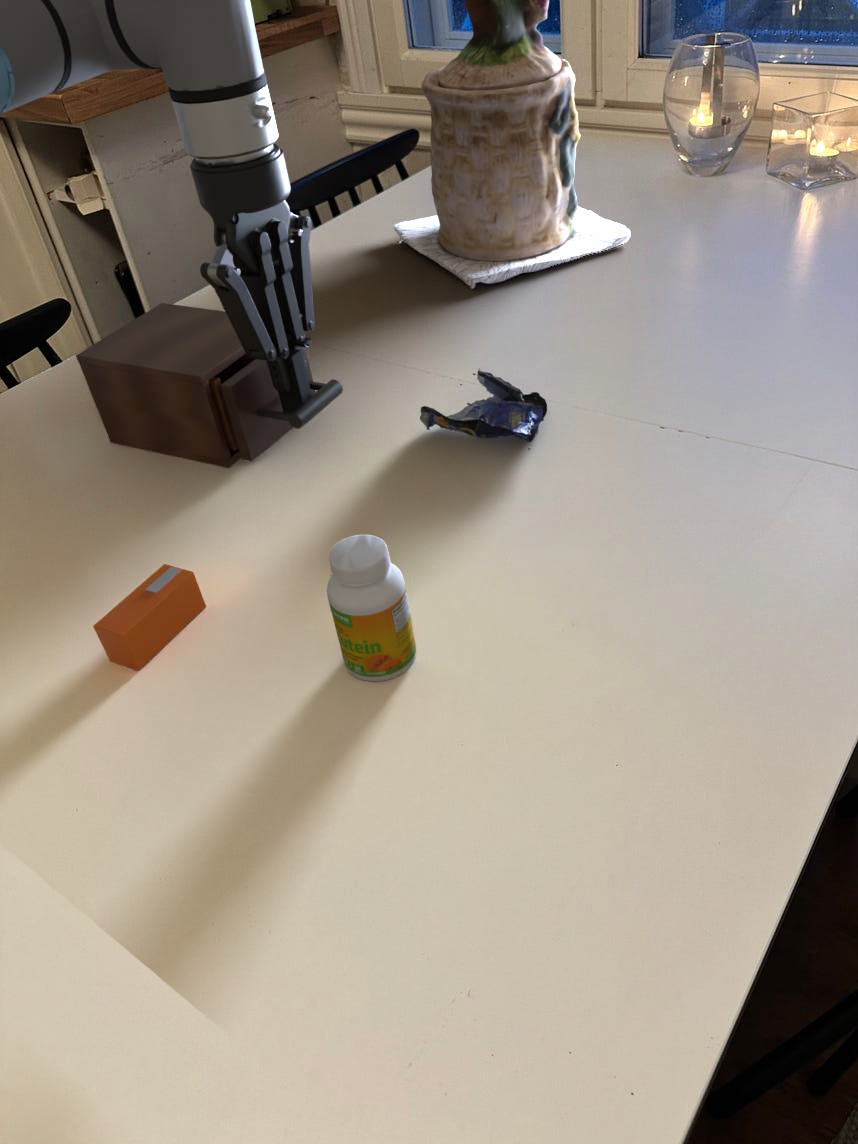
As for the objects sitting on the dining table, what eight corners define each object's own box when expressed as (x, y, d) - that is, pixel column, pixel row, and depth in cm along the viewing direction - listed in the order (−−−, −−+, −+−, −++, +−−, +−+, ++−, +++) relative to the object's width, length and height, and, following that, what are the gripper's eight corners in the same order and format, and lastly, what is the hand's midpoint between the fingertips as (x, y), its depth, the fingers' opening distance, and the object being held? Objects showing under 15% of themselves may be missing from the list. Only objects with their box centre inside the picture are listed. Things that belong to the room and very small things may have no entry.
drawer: (362, 413, 96) (347, 339, 91) (297, 471, 89) (277, 395, 84) (209, 386, 104) (188, 317, 99) (138, 438, 97) (111, 366, 92)
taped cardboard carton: (109, 661, 73) (91, 624, 70) (178, 598, 78) (163, 561, 75) (139, 671, 72) (121, 634, 69) (206, 606, 77) (193, 569, 74)
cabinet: (303, 407, 100) (281, 318, 94) (228, 468, 92) (200, 376, 86) (188, 386, 107) (161, 302, 100) (110, 442, 99) (75, 355, 92)
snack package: (475, 391, 100) (401, 440, 93) (478, 335, 95) (401, 381, 88) (570, 436, 95) (500, 491, 88) (579, 379, 90) (506, 432, 84)
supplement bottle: (332, 675, 69) (302, 569, 63) (364, 628, 73) (340, 523, 66) (399, 690, 67) (376, 582, 61) (429, 640, 71) (410, 533, 65)
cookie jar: (474, 295, 118) (443, -15, 97) (389, 242, 135) (347, -33, 113) (637, 243, 126) (642, -55, 104) (538, 199, 142) (525, -66, 121)
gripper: (220, 179, 71) (292, 455, 87) (318, 128, 79) (368, 389, 95) (145, 174, 74) (228, 442, 90) (246, 126, 82) (306, 379, 98)
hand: (300, 414), depth 92 cm, fingers closed
